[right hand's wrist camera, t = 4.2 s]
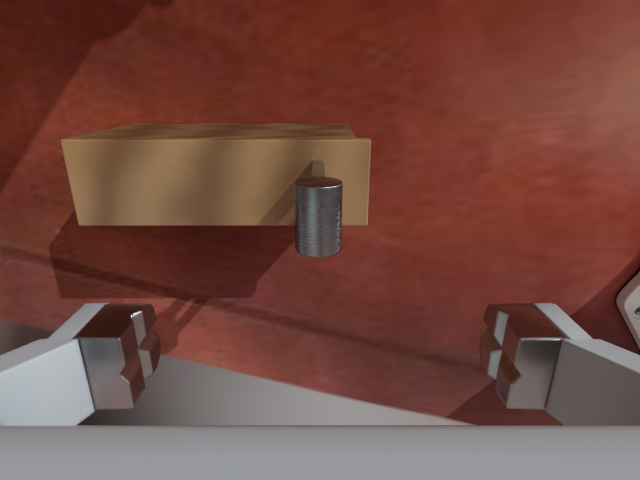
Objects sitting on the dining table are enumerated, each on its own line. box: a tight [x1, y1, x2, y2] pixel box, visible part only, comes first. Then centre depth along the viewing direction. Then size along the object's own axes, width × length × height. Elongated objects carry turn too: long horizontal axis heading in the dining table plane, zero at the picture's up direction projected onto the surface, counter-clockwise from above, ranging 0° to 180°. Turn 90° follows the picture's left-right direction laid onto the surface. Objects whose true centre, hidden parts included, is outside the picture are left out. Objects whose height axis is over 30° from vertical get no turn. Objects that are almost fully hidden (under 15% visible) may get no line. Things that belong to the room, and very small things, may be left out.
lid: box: [60, 138, 371, 257], centre depth 22 cm, size 18×5×8 cm, turn 90°
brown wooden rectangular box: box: [70, 123, 356, 138], centre depth 30 cm, size 17×5×10 cm, turn 90°
